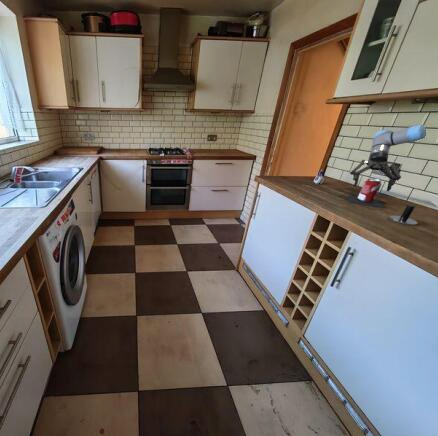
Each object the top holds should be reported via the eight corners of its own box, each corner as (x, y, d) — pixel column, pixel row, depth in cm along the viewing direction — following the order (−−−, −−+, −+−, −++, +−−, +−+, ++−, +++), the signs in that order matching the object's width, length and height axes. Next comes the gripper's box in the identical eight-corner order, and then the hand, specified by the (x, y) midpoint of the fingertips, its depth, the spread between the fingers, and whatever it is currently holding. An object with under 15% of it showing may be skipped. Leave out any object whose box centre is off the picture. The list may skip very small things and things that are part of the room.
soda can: (361, 202, 124) (371, 181, 119) (354, 198, 130) (363, 177, 124) (375, 203, 122) (386, 182, 117) (368, 199, 128) (377, 178, 123)
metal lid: (413, 220, 105) (422, 204, 102) (419, 227, 99) (429, 211, 95) (387, 215, 110) (395, 200, 107) (391, 222, 103) (400, 206, 100)
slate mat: (378, 201, 127) (379, 200, 127) (383, 208, 118) (384, 207, 118) (347, 196, 134) (347, 195, 134) (349, 202, 125) (349, 201, 125)
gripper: (406, 162, 124) (399, 195, 119) (348, 156, 136) (340, 186, 132) (414, 153, 118) (408, 188, 113) (352, 148, 130) (344, 179, 125)
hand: (371, 187), depth 122 cm, fingers open, 13 cm apart
